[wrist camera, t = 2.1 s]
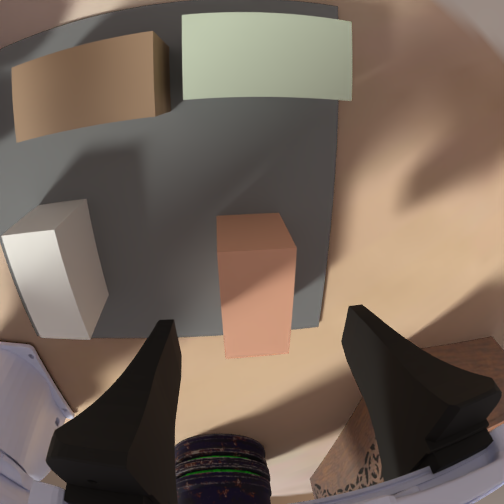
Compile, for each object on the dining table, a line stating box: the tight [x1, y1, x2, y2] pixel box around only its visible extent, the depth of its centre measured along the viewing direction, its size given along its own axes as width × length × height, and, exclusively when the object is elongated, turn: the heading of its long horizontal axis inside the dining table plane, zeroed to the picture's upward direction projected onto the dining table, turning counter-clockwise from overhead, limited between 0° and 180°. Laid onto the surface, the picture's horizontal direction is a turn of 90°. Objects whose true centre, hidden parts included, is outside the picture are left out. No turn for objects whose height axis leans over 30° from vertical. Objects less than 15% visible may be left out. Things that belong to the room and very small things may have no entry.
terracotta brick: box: [216, 213, 297, 359], centre depth 16 cm, size 6×3×4 cm, turn 0°
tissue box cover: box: [310, 337, 504, 499], centre depth 26 cm, size 26×14×10 cm, turn 173°
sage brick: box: [182, 12, 352, 101], centre depth 11 cm, size 6×3×4 cm, turn 90°
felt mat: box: [0, 0, 338, 338], centre depth 15 cm, size 19×20×1 cm
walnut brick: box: [11, 31, 171, 143], centre depth 11 cm, size 6×3×4 cm, turn 90°
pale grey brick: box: [1, 199, 109, 340], centre depth 14 cm, size 6×3×4 cm, turn 0°
